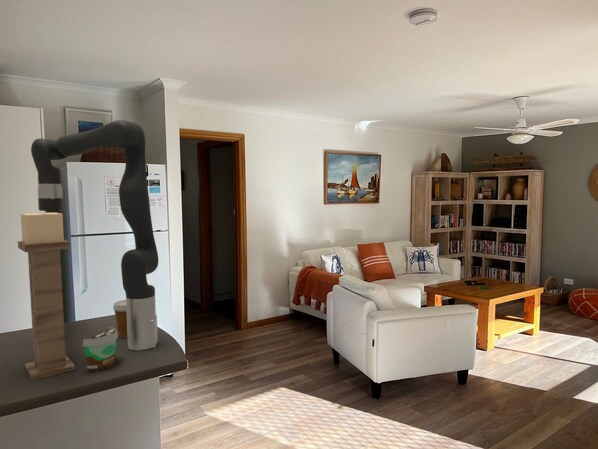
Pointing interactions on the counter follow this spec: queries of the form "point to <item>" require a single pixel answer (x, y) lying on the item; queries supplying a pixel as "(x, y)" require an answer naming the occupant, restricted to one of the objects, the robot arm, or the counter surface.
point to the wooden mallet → (42, 228)
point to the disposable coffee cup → (121, 317)
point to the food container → (101, 350)
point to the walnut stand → (47, 309)
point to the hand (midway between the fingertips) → (52, 242)
